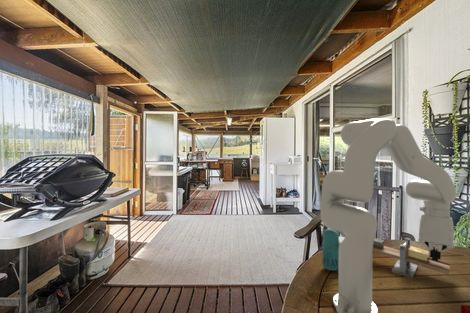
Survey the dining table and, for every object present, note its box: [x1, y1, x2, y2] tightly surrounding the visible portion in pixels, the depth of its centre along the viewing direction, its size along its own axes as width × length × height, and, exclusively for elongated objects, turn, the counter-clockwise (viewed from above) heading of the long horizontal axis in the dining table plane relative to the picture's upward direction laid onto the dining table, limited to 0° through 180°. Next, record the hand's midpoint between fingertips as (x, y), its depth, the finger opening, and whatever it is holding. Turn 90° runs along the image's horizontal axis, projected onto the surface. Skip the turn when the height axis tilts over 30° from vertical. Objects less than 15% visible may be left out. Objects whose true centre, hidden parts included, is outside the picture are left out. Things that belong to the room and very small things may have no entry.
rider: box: [408, 245, 430, 262], centre depth 97 cm, size 5×6×4 cm
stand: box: [391, 237, 419, 279], centre depth 100 cm, size 13×7×11 cm, turn 136°
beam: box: [373, 237, 451, 275], centre depth 100 cm, size 7×28×5 cm, turn 46°
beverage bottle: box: [321, 227, 340, 271], centre depth 100 cm, size 6×7×20 cm
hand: (435, 260), depth 93 cm, fingers closed
